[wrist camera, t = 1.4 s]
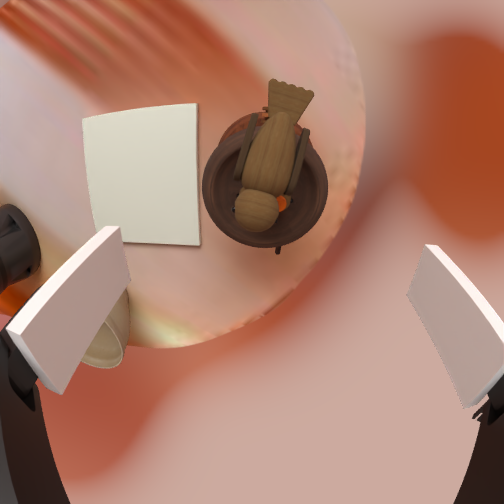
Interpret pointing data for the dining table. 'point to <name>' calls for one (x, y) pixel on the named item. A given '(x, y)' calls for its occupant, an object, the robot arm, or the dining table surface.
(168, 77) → the dining table surface
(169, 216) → the board
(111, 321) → the planter bowl
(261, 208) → the music box
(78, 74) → the dining table surface
